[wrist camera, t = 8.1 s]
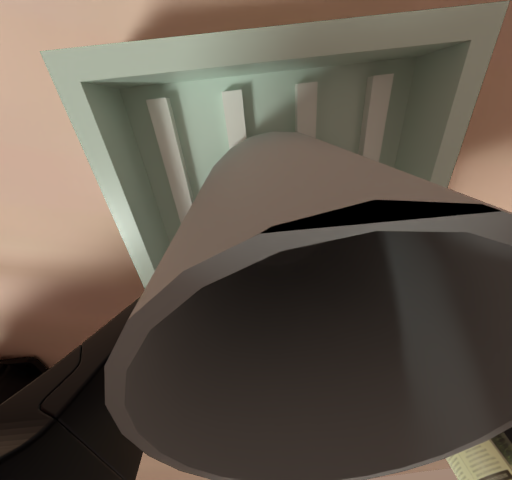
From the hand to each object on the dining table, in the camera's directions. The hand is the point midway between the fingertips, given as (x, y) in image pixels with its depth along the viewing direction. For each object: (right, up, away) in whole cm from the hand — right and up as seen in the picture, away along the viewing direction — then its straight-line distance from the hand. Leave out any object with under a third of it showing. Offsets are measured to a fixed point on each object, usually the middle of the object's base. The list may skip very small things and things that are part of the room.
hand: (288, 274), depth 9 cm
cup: (-1, +2, +3) cm, 4 cm away
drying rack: (0, +3, +4) cm, 5 cm away
